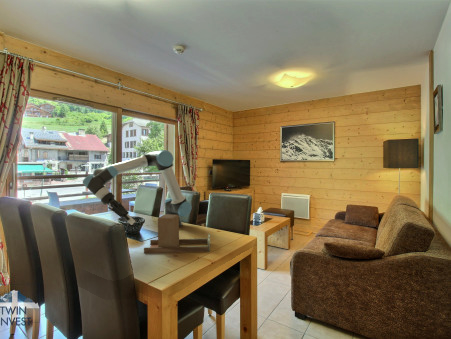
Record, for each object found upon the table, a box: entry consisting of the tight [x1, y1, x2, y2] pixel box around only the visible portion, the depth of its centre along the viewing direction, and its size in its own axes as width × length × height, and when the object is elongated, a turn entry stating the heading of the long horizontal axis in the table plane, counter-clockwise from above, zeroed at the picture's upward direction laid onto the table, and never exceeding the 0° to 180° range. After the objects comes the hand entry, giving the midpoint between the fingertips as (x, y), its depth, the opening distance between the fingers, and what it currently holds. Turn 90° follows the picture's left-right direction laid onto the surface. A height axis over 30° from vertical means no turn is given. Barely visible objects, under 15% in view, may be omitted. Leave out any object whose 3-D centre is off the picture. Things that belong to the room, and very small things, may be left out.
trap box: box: [143, 233, 211, 254], centre depth 149 cm, size 15×38×6 cm, turn 92°
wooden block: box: [157, 213, 180, 247], centre depth 149 cm, size 10×10×20 cm
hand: (133, 223), depth 148 cm, fingers closed
